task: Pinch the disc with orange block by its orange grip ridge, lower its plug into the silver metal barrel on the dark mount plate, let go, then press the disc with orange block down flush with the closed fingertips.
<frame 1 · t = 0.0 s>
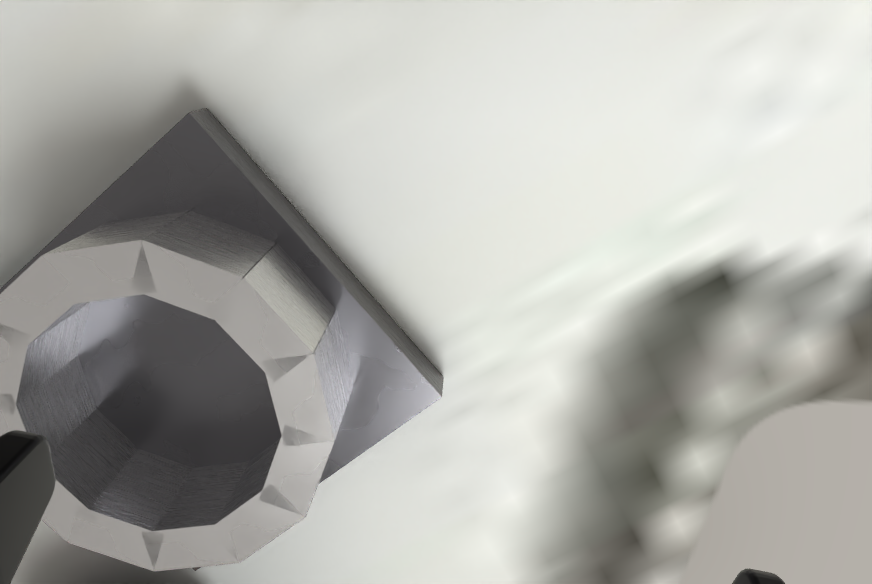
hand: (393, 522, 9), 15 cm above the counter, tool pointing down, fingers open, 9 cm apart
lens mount: (207, 350, 26), on the counter
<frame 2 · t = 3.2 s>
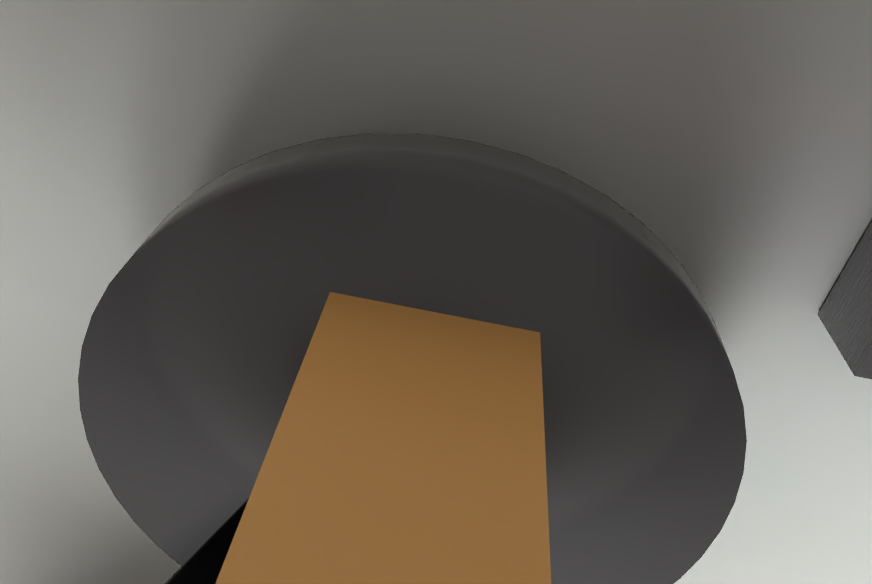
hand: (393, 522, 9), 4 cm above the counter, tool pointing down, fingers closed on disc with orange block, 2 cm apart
disc with orange block: (425, 339, 12), on the counter, touching gripper
when the fingers open (8 cm above the counter, at t = 6.5 s): disc with orange block stays where it is, resting on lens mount.
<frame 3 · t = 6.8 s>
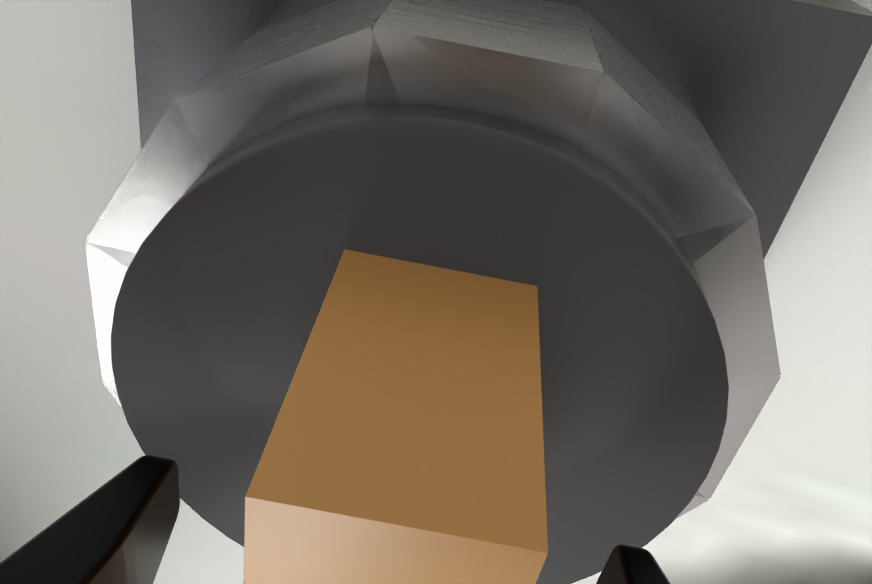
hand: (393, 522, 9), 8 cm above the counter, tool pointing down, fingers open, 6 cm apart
disc with orange block: (430, 307, 13), point 3 cm above the counter, touching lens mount
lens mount: (446, 230, 16), on the counter
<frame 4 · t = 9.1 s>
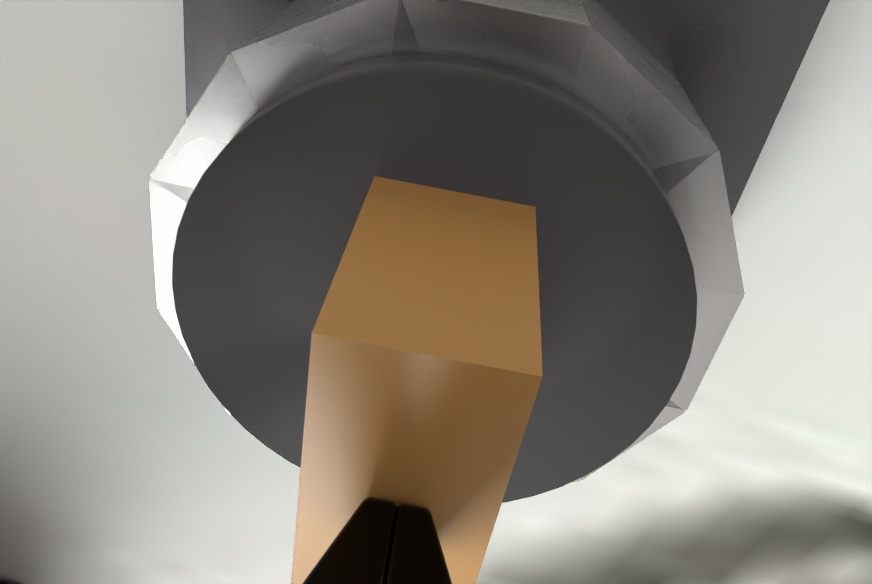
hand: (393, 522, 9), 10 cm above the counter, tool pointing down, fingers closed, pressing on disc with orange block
disc with orange block: (442, 246, 15), point 3 cm above the counter, touching gripper, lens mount
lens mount: (454, 186, 17), on the counter
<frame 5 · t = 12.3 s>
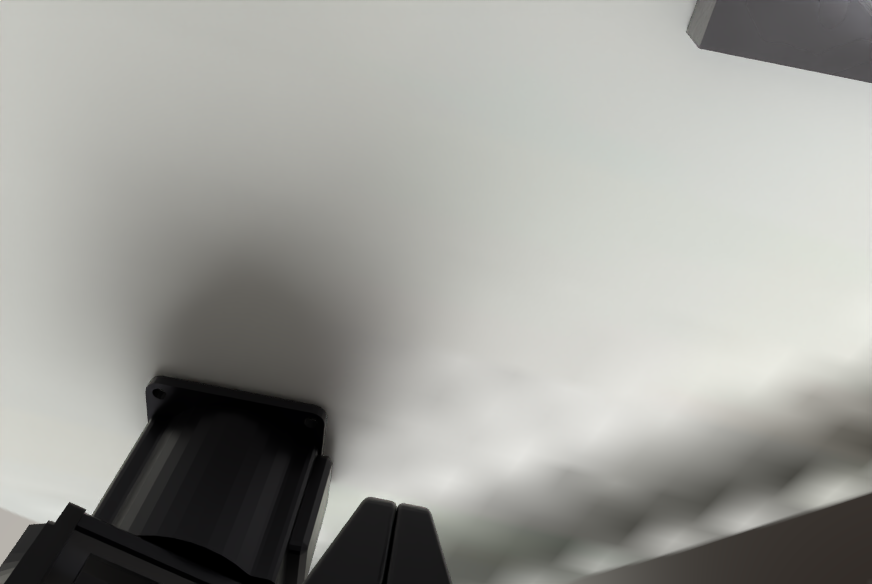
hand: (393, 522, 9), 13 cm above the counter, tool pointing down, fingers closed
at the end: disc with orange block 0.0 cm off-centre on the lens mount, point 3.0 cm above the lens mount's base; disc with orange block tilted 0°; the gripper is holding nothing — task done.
